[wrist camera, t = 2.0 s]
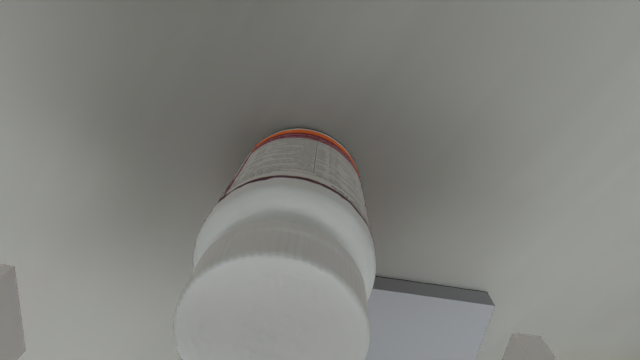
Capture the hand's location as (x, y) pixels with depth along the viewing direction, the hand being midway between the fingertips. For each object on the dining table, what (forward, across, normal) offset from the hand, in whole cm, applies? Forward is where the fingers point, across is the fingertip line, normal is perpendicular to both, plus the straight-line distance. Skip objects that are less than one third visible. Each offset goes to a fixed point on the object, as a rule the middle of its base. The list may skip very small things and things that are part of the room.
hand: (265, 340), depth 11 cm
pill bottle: (+11, 0, 0) cm, 11 cm away
